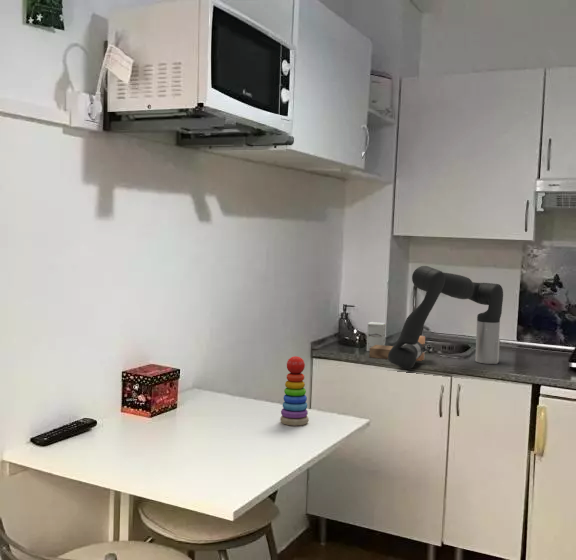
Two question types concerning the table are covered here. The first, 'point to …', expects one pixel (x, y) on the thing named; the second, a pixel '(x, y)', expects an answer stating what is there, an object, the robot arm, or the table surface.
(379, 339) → the supplement box
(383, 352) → the base
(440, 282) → the robot arm
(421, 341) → the orange tan block
